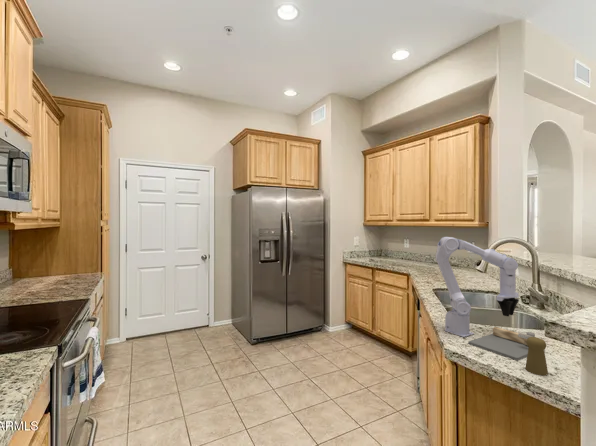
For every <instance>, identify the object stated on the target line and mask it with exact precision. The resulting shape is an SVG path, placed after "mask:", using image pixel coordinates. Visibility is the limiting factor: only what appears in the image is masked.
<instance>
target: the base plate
mask: <svg viewBox="0 0 596 446" xmlns="http://www.w3.org/2000/svg"><path fill="white" fill-rule="evenodd" d="M526 335H530V336H534V337H536V336H535V335H536V334H535V332H530V331H527V332H526ZM467 344H468V345H471V346H473V347H476V348H479V349H483V350H485V351H488V352H489V353H490V352H491V353H493V354H496V355H499V356H502V357H505V358H508V359H511V360H514V361H515V362H517V361H521V360H522V359H526V358H527V355H528V348H529V347H528V346H527V345H525V344H523V343H519V342H516V341H513V340H509V339H506V338H503V337H499V336H496V335H493V333H490V334H487V335H484V336H481V337H477V338H475V339H472V340H469V341H468V342H467Z"/></svg>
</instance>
